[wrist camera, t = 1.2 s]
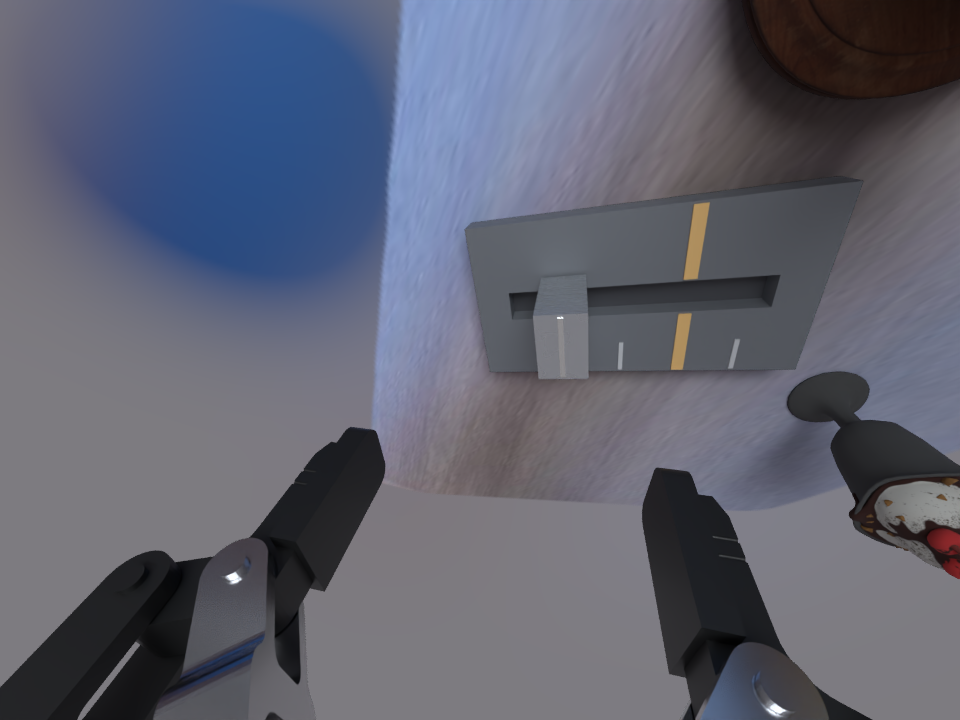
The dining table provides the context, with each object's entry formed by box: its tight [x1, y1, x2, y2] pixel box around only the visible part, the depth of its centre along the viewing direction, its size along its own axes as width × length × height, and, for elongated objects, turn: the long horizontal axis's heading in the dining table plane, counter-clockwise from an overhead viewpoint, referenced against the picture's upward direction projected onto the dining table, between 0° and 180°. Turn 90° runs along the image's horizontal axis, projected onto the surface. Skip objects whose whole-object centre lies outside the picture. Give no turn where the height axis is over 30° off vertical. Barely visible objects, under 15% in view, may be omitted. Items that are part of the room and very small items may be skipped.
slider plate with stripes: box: [465, 176, 863, 372], centre depth 26 cm, size 22×12×2 cm, turn 100°
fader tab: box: [533, 274, 588, 379], centre depth 24 cm, size 3×4×8 cm
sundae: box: [788, 372, 960, 579], centre depth 22 cm, size 7×7×15 cm
